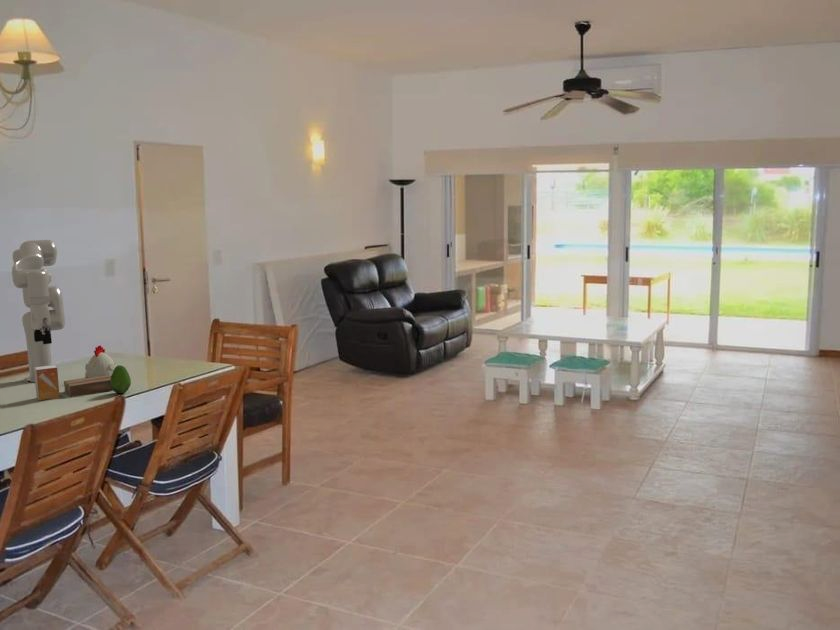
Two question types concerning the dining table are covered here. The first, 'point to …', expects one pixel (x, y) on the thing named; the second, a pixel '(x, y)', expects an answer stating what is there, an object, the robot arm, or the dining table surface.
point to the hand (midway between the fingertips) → (43, 342)
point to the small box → (46, 382)
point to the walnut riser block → (88, 385)
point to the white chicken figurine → (99, 364)
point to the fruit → (120, 380)
